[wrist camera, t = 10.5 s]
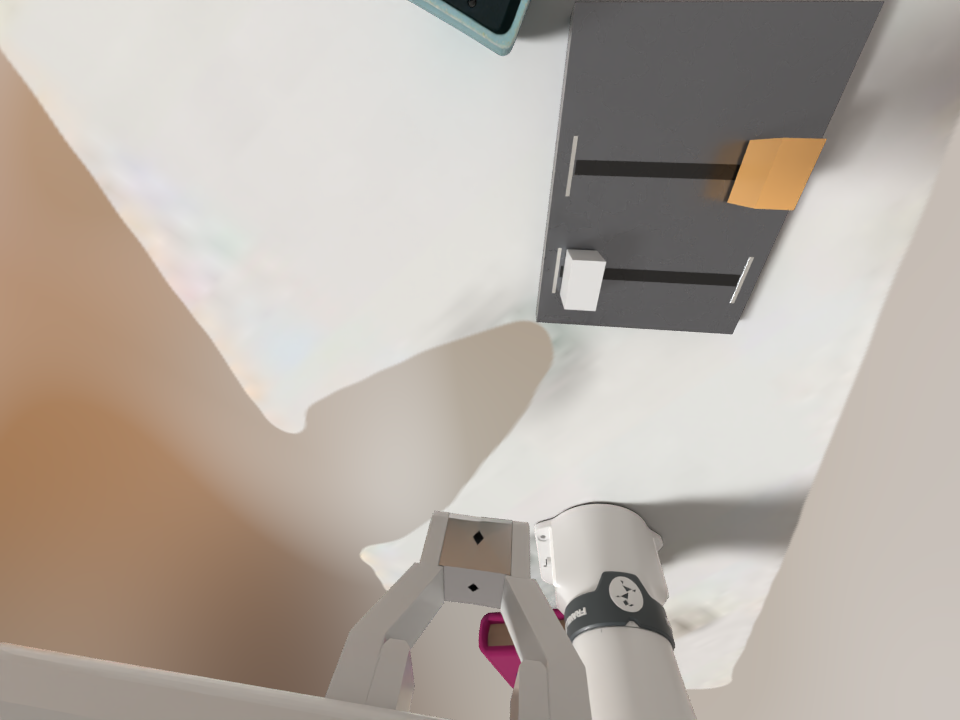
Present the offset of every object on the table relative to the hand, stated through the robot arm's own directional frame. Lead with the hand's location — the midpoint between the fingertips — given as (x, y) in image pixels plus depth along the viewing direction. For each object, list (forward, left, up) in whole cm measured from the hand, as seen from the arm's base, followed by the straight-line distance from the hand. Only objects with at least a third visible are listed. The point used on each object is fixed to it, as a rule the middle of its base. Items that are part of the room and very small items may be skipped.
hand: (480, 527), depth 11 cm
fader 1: (+1, -6, -24) cm, 24 cm away
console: (+7, -12, -26) cm, 30 cm away
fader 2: (+9, -18, -24) cm, 31 cm away
